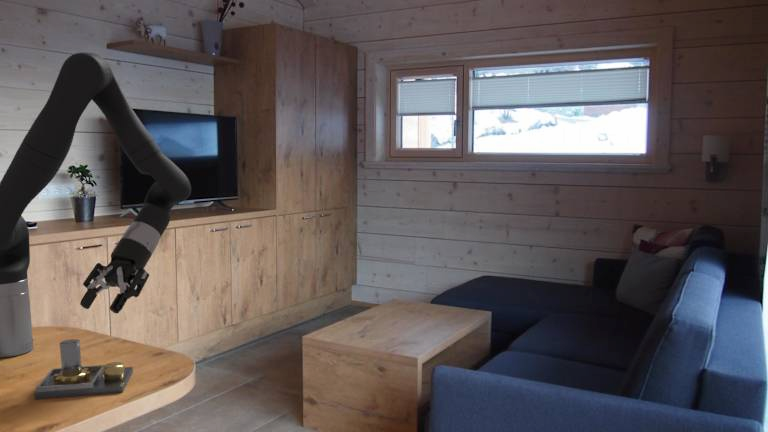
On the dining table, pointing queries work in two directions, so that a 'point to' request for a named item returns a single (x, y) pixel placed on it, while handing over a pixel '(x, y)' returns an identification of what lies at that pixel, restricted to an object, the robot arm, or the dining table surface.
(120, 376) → the tray
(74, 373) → the gear
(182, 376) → the dining table surface
